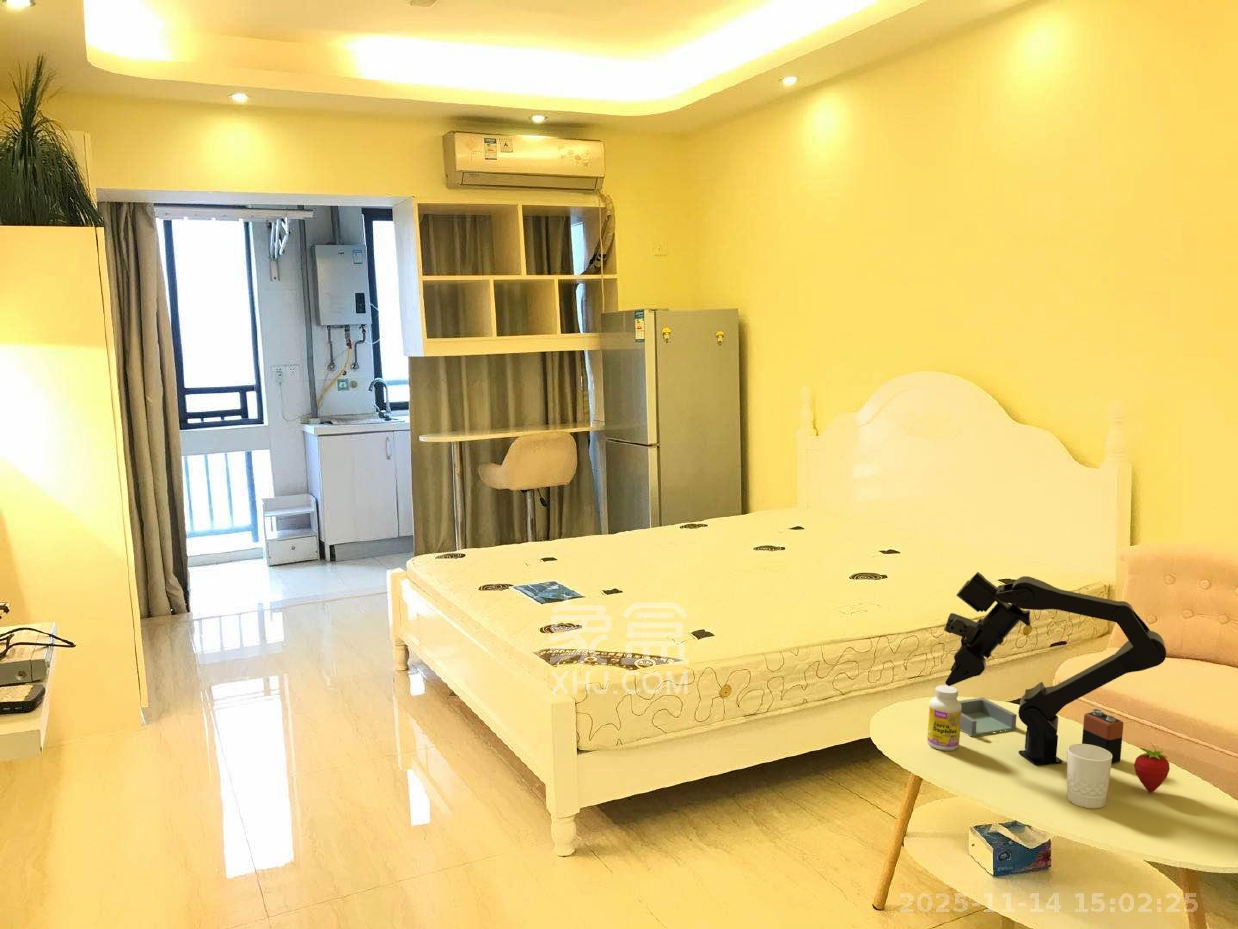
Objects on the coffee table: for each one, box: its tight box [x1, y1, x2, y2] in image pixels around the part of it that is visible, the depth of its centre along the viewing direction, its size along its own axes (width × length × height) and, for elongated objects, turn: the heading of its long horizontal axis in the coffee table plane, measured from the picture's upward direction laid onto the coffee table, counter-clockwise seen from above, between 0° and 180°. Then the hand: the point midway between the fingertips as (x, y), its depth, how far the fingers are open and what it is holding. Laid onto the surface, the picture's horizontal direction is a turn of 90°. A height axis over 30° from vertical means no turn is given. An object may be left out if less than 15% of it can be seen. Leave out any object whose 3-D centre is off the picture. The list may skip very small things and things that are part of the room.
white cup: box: [1066, 743, 1112, 810], centre depth 198 cm, size 8×8×10 cm
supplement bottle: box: [926, 684, 962, 751], centre depth 222 cm, size 7×7×13 cm
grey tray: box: [958, 697, 1017, 737], centre depth 235 cm, size 11×12×4 cm
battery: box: [1081, 708, 1124, 765], centre depth 217 cm, size 4×7×10 cm, turn 24°
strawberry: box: [1133, 742, 1171, 794], centre depth 202 cm, size 6×8×10 cm
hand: (949, 678), depth 223 cm, fingers open, 9 cm apart
